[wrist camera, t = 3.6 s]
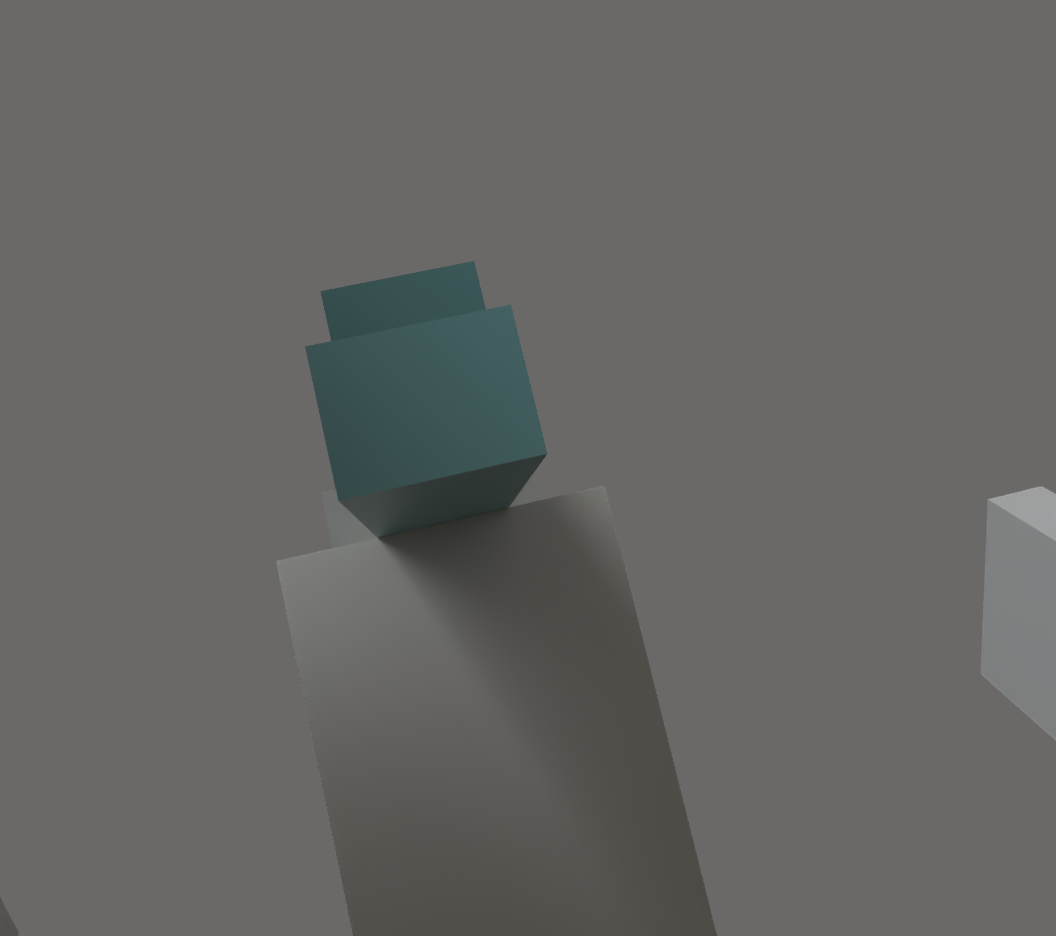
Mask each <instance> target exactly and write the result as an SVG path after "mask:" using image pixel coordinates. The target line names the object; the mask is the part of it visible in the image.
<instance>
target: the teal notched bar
mask: <svg viewBox="0 0 1056 936" xmlns="http://www.w3.org/2000/svg"><path fill="white" fill-rule="evenodd" d="M321 296H322V299H323V305H324V309H325V314H326V318H327V323H328V327H329V332H330V337H331V341H330V342H326V343H321V344H315V345H311V346H306V347H305V348H306V353H307V357H308V362H309V367H310V371H311V376H312V380H313V385H314V390H315V394H316V399H317V404H318V408H319V413H320V418H321V422H322V427H323V432H324V436H325V441H326V446H327V450H328V455H329V459H330V464H331V469H332V473H333V478H334V483H335V487H336V492H337V497H338V501H339V502H340V503H341V504H342V505H343V506H344V507H346V508H347V509H348V510H349V511H350V512H351V513H352V514H353V515H354V516H355V517H356V518H357V519H358V520H359V521H360V522H361V523H362V524H363V525H364V526H366V527H367V528H368V529H369V530H370V531H371V532H372V533H373V534H374V535H375V536H376V537H377V538H379V537H384V536H388V535H392V534H397V533H401V532H405V531H410V530H414V529H418V528H423V527H427V526H431V525H436V524H440V523H444V522H449V521H453V520H457V519H462V518H466V517H470V516H475V515H479V514H483V513H488V512H492V511H496V510H501V509H505V508H509V507H510V505H511V504H512V503H513V501H514V500H515V498H516V497H517V496H518V494H519V493H520V491H521V490H522V489H523V487H524V486H525V484H526V483H527V482H528V480H529V479H530V477H531V476H532V474H533V473H534V472H535V470H536V469H537V467H538V466H539V465H540V463H541V462H542V460H543V459H544V458H545V456H546V455H547V451H546V447H545V443H544V439H543V435H542V430H541V426H540V422H539V418H538V414H537V410H536V406H535V402H534V397H533V394H532V389H531V385H530V381H529V377H528V373H527V369H526V365H525V360H524V356H523V352H522V348H521V344H520V340H519V336H518V332H517V328H516V324H515V319H514V315H513V311H512V307H511V305H507V306H502V307H497V308H492V309H487V310H486V309H485V305H484V300H483V296H482V292H481V288H480V284H479V279H478V275H477V271H476V267H475V263H474V261H472V262H467V263H462V264H457V265H452V266H447V267H442V268H436V269H432V270H427V271H421V272H416V273H411V274H406V275H401V276H396V277H391V278H386V279H381V280H376V281H371V282H366V283H360V284H355V285H351V286H346V287H340V288H335V289H330V290H325V291H321Z"/></svg>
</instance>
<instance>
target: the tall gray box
mask: <svg viewBox="0 0 1056 936" xmlns="http://www.w3.org/2000/svg"><path fill="white" fill-rule="evenodd" d="M321 497H322V501H323V506H324V511H325V515H326V520H327V525H328V529H329V534H330V539H331V543H332V549H327V550H323V551H319V552H314V553H310V554H306V555H301V556H297V557H293V558H289V559H284V560H280V561H276V563H277V568H278V573H279V578H280V583H281V588H282V593H283V597H284V602H285V607H286V611H287V617H288V622H289V627H290V631H291V636H292V641H293V646H294V651H295V656H296V661H297V666H298V670H299V675H300V680H301V684H302V689H303V695H304V700H305V704H306V709H307V714H308V718H309V723H310V729H311V733H312V738H313V743H314V748H315V753H316V758H317V763H318V768H319V772H320V777H321V782H322V787H323V792H324V796H325V802H326V806H327V811H328V816H329V821H330V826H331V830H332V835H333V840H334V845H335V850H336V855H337V860H338V865H339V869H340V874H341V879H342V884H343V889H344V893H345V899H346V903H347V908H348V913H349V918H350V923H351V927H352V933H353V936H717V934H716V930H715V926H714V922H713V919H712V914H711V910H710V906H709V902H708V898H707V895H706V890H705V886H704V882H703V878H702V875H701V870H700V866H699V862H698V858H697V854H696V850H695V846H694V843H693V838H692V834H691V830H690V826H689V822H688V819H687V814H686V810H685V806H684V802H683V798H682V794H681V790H680V787H679V782H678V778H677V774H676V770H675V766H674V762H673V758H672V754H671V750H670V746H669V742H668V738H667V734H666V730H665V726H664V722H663V718H662V714H661V710H660V706H659V702H658V698H657V694H656V690H655V686H654V683H653V678H652V674H651V670H650V666H649V662H648V659H647V655H646V650H645V646H644V642H643V638H642V634H641V630H640V626H639V622H638V619H637V614H636V610H635V606H634V602H633V598H632V594H631V590H630V586H629V582H628V578H627V574H626V570H625V566H624V562H623V558H622V554H621V550H620V546H619V542H618V538H617V534H616V530H615V526H614V522H613V518H612V514H611V510H610V506H609V502H608V499H607V494H606V490H605V486H601V487H597V488H592V489H587V490H583V491H579V492H574V493H570V494H566V495H562V496H557V497H553V498H549V499H544V500H540V501H539V497H538V493H537V489H536V485H535V481H534V476H533V474H532V476H531V477H530V479H529V480H528V482H527V483H526V484H525V486H524V487H523V489H522V490H521V491H520V493H519V494H518V496H517V497H516V498H515V500H514V501H513V503H512V504H511V505H510V507H509V508H505V509H501V510H496V511H492V512H488V513H483V514H479V515H475V516H470V517H466V518H462V519H457V520H453V521H449V522H444V523H440V524H436V525H431V526H427V527H423V528H418V529H414V530H410V531H405V532H401V533H397V534H392V535H388V536H384V537H379V538H377V537H376V536H375V535H374V534H373V533H372V532H371V531H370V530H369V529H368V528H367V527H366V526H364V525H363V524H362V523H361V522H360V521H359V520H358V519H357V518H356V517H355V516H354V515H353V514H352V513H351V512H350V511H349V510H348V509H347V508H346V507H344V506H343V505H342V504H341V503H340V502H339V501H338V497H337V492H336V489H335V490H331V491H326V492H321Z"/></svg>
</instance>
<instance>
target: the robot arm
mask: <svg viewBox="0 0 1056 936" xmlns="http://www.w3.org/2000/svg"><path fill="white" fill-rule="evenodd" d="M987 509H988V510H987V534H986V558H985V559H986V560H985V582H984V606H983V631H982V656H981V675H983V677H985V678H986V679H987V680H988V681H989V682H990V683H991V684H993V685H994V686H995V687H996V688H997V689H998V690H999V691H1000V692H1001V693H1003V694H1004V695H1005V696H1006V697H1007V698H1008V699H1009V700H1011V701H1012V702H1013V703H1014V704H1015V705H1016V706H1017V707H1019V708H1020V709H1021V710H1022V711H1023V712H1024V713H1025V714H1026V715H1027V716H1029V717H1030V718H1031V719H1032V720H1033V721H1034V722H1035V723H1036V724H1038V725H1039V726H1040V727H1041V728H1042V729H1043V730H1044V731H1045V732H1047V733H1048V734H1049V735H1050V736H1051V737H1052V738H1053V739H1054V740H1056V494H1055V493H1053V492H1051V491H1049V490H1047V489H1045V488H1044V487H1041V486H1040V487H1036V488H1033V489H1028V490H1024V491H1020V492H1016V493H1012V494H1008V495H1004V496H1000V497H996V498H991V499H988V508H987ZM18 933H19V932H18V930H17V928H16V927H15V925H14V923H13V921H12V919H11V917H10V915H9V913H8V911H7V909H6V908H5V905H4V904H3V902H2V900H1V898H0V936H18Z"/></svg>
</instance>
